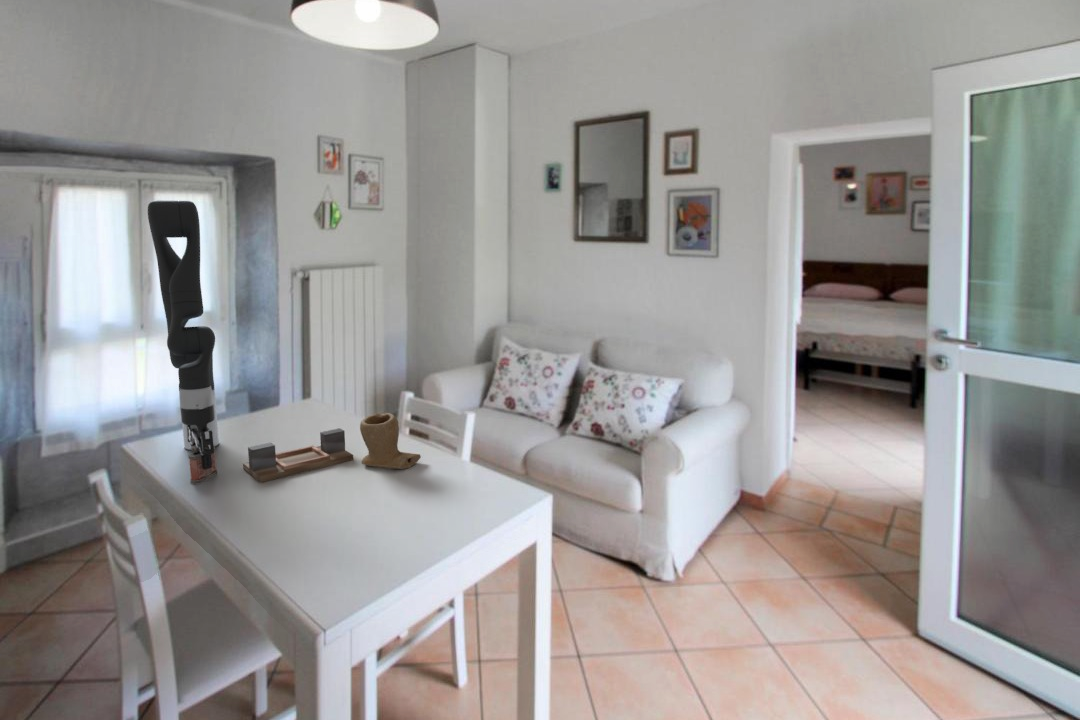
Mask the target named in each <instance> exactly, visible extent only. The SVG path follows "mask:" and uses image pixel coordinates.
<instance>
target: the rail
mask: <svg viewBox="0 0 1080 720" xmlns="http://www.w3.org/2000/svg"><path fill="white" fill-rule="evenodd" d="M345 435H346V434H345V430H344V429H343V428H335V429H329V430H326V431H320V434H319V436H320V445H317V446H315V445H309V446H304V447H301V448H295V449H291V450H287V451H283V452H277V453H276V445H275V444H273V443H272V442H266V443H262V444H261V443H260V444H258V445H256V444H255V445H252V446H248V447H247V453H248V461H246V462H243V463H242V467H243V469H244V471H246V472H247V473H248V474H249V475H251V476H252V477H253V478H254V479H256V480H257V481H258V482H259V483H260V484H261V483H265V482H269V481H273V480H277V479H281V478H285V477H289V476H293V475H297V474H301V473H305V472H309V471H314V470H318V469H322V468H326V467H330V466H334V465H337V464H341V463H342V464H343V463H346V462H350V461H353V460H354V454H353V453H351V452H349V451H348V450H346V437H345Z"/></svg>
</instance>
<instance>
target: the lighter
mask: <svg viewBox="0 0 1080 720" xmlns="http://www.w3.org/2000/svg"><path fill="white" fill-rule="evenodd" d="M192 450H193V452H192ZM192 450H191V453H189V454H188V455H187V457H188V459H189V460H188V461H189V469H190V471H189V472H190V484H192V485H196V484H197V485H198V484H201V483H203V482H206V481H208V480H210V479H212V478H213V477H215V476H216V475H218V471H217V466H216V464H217V463H216V454H215V450H216V446H215V447H214V453H213V454H211V460H212V467H211V468H209V469H203V468H202V463H201V455H200V450H199V448H197V447H196V444H195V445H194V446H192ZM205 450H208V447H205Z"/></svg>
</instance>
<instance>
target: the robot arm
mask: <svg viewBox="0 0 1080 720" xmlns="http://www.w3.org/2000/svg"><path fill="white" fill-rule="evenodd" d="M147 219H148V225H149V229H150V234H151V237H152V241H153V247H154V251H155V256H156V261H157V267H158V268H157V269H158V278H159V285H160V292H161V298H162V299H161V300H162V303H163V304H162V305H163V309H164V314H165V320H166V325H167V326H166V328H167V340H166V347H167V349H168V353H169V359H170V363H171V365H172V367H174V369H177V370H178V372H177V373H178V383H179V384H178V392H179V393H178V394H179V398H178V399H179V406H180V420H181V424H182V433H183V434H182V436H183V446H184V449H185V450H188V451H191V453H192V452H193V450H192V446H194V445H195V444H196V447H197V448H199V450H200V455H201V463H202V468H203V469H209V468H211V467H212V460H211V454H213V453H214V447H215V448H216V447H217V446H218V445H219V443H220V440H219V439H220V438H219V427H218V425H219V424H218V415H217V414H218V413H217V402H216V401H217V400H216V391H215V389H216V388H215V380H214V379H215V378H214V366H213V365H214V364H213V363H214V362H213V355H214V353H213V352H214V348H215V345H216V344H215V343H216V336H215V333H214V331H213V330H212V328H211V327H208V326H207V325H205V326H204V325H201V326H200V325H199V326H186V325H187V323H188V322H189V320H192V319H195V318H200V317H202V315H203V314H204V304H203V296H202V286H201V232H200V231H201V227H200V217H199V212H198V208H197V205H196V204H195V203H194V202H193V201H190V200H174V199H173V200H169V199H168V200H164V199H162V200H161V199H160V200H159V199H157V200H156V199H155V200H151V201H149V202H148V205H147ZM169 238H171V239H172V238H175V239H176V238H186V247H185V251H184V254H183V256H182V258H181V257H180V256H179V255H178V254H177V253H176V251H175V250H174V249H173V247H172V245H171V243H170V241H169ZM205 447H208V450H205Z"/></svg>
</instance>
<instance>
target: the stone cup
mask: <svg viewBox="0 0 1080 720" xmlns="http://www.w3.org/2000/svg"><path fill="white" fill-rule="evenodd" d="M360 421H361V422H360V425H359V429H360V430H359V431H360V434H361V437H362V440H363V442H364V444H365V446H366V448H367V450H368V453H367V455H366V456H364V457H363V458H362V459H361V464H362V465H364V466H368V467H375V468H384V469H385V468H386V469H387V468H388V469H398V470H399V469H400V470H402V469H403V470H404V469H409V468H411V467H413V466H414V465H415V464H417V462H418V461H419V460H420V459H421V458H422V457H421V454H419V453H413V452H412V453H411V452H403V451H400V450H399V447H398V443H399V436H400V426H399V420H398V418H397V417H396V416H395V415H394V414H393V413H390V412H385V413H373V414H372V415H368V416H367V417H365V418H363V419H362V420H360Z"/></svg>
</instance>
